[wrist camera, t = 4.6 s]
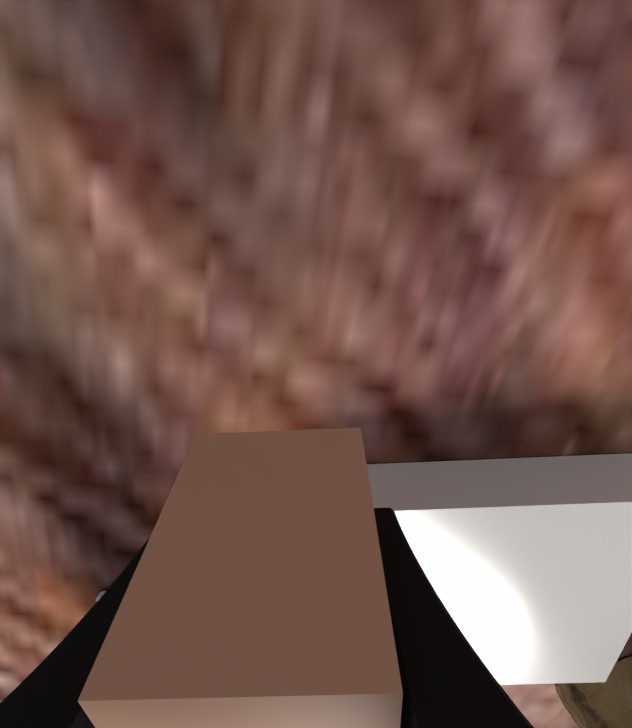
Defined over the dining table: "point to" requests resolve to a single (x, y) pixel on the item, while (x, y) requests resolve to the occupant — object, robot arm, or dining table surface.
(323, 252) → the dining table surface
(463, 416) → the dining table surface
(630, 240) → the dining table surface
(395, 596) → the robot arm
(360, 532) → the terracotta block
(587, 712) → the rock
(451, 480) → the base plinth
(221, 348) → the dining table surface
